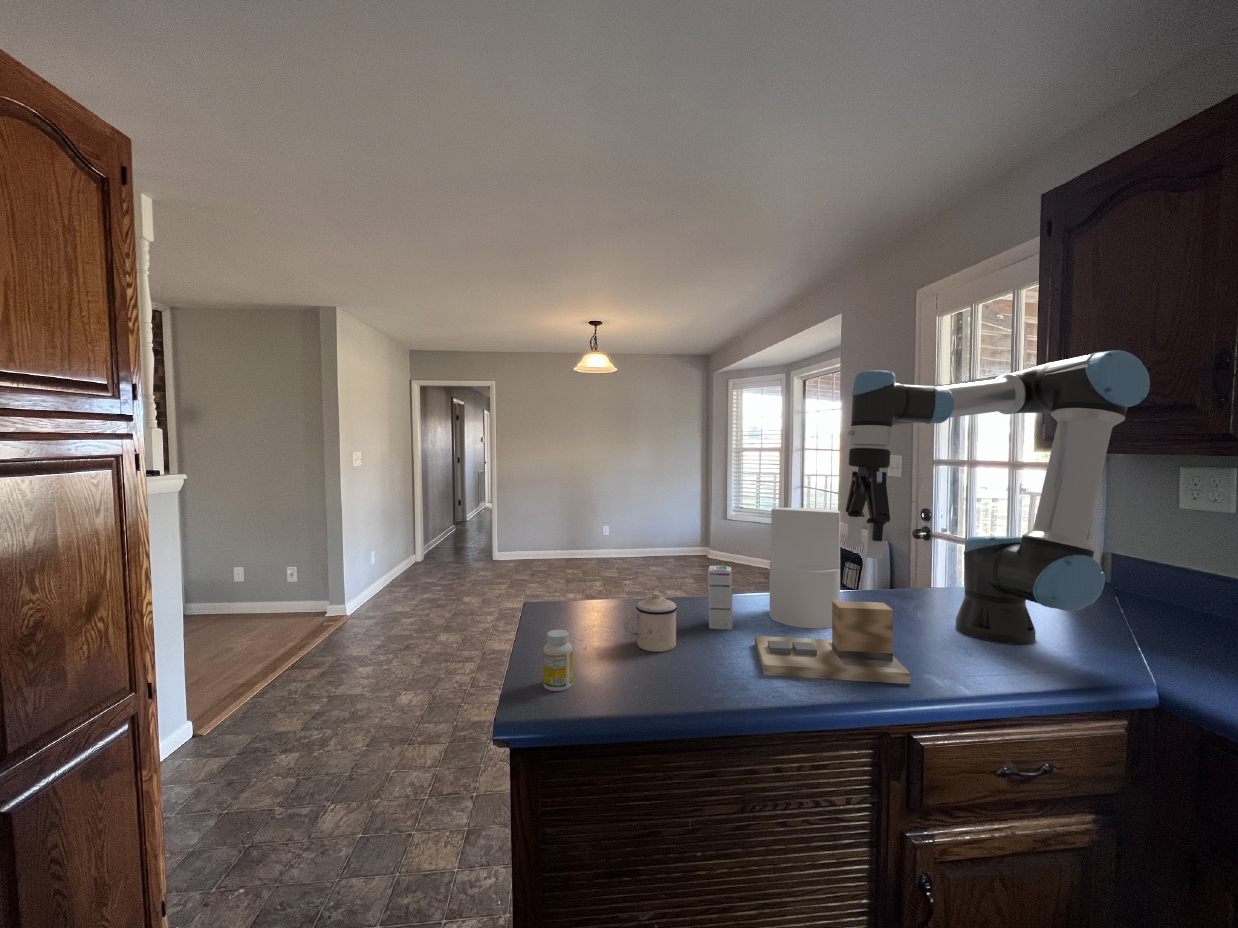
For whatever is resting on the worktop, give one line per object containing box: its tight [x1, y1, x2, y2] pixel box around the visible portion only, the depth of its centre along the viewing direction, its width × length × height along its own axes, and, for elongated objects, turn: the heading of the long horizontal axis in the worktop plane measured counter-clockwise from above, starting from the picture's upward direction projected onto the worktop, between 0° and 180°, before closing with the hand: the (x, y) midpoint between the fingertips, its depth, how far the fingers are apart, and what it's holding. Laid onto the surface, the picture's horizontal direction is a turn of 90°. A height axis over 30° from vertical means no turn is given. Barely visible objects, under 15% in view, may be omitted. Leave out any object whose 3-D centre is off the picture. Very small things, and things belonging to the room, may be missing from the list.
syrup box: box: [707, 565, 733, 631], centre depth 125 cm, size 6×6×14 cm
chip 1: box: [768, 641, 791, 655], centre depth 103 cm, size 4×4×1 cm
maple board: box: [754, 635, 911, 685], centre depth 102 cm, size 26×16×2 cm, turn 81°
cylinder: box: [769, 507, 841, 630], centre depth 131 cm, size 17×17×28 cm
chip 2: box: [792, 642, 817, 656], centre depth 103 cm, size 4×4×1 cm
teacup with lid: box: [623, 591, 678, 653], centre depth 111 cm, size 12×9×12 cm
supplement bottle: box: [542, 629, 573, 692], centre depth 92 cm, size 5×5×10 cm
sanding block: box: [831, 600, 894, 661], centre depth 101 cm, size 10×5×10 cm, turn 81°
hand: (863, 552), depth 102 cm, fingers open, 13 cm apart
